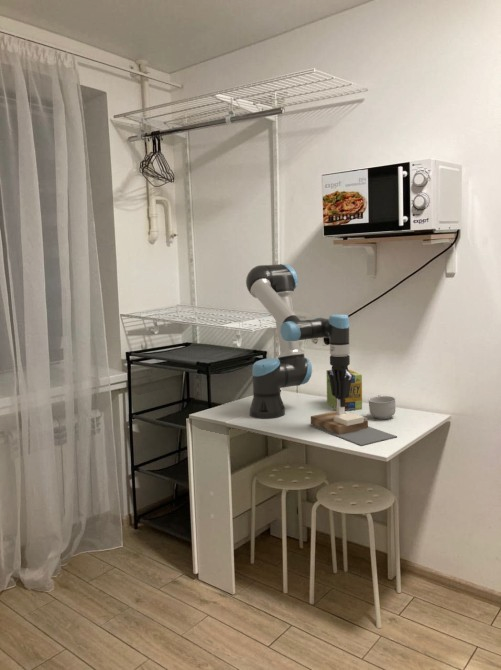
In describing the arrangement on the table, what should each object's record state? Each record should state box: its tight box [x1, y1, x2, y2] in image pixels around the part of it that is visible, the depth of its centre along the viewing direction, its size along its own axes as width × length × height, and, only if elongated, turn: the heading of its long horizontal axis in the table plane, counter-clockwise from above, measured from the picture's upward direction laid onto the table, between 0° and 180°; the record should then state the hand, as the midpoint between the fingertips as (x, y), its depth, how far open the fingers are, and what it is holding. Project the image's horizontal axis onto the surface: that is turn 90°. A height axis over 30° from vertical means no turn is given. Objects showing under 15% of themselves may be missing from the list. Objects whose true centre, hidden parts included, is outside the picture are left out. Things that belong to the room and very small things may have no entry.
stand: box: [310, 410, 369, 434], centre depth 226 cm, size 18×14×3 cm
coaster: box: [334, 412, 365, 426], centre depth 221 cm, size 8×8×2 cm
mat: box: [310, 424, 398, 447], centre depth 220 cm, size 30×17×1 cm, turn 30°
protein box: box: [326, 368, 363, 412], centre depth 256 cm, size 10×15×16 cm
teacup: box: [367, 394, 396, 420], centre depth 239 cm, size 14×11×8 cm
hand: (340, 414), depth 225 cm, fingers closed
